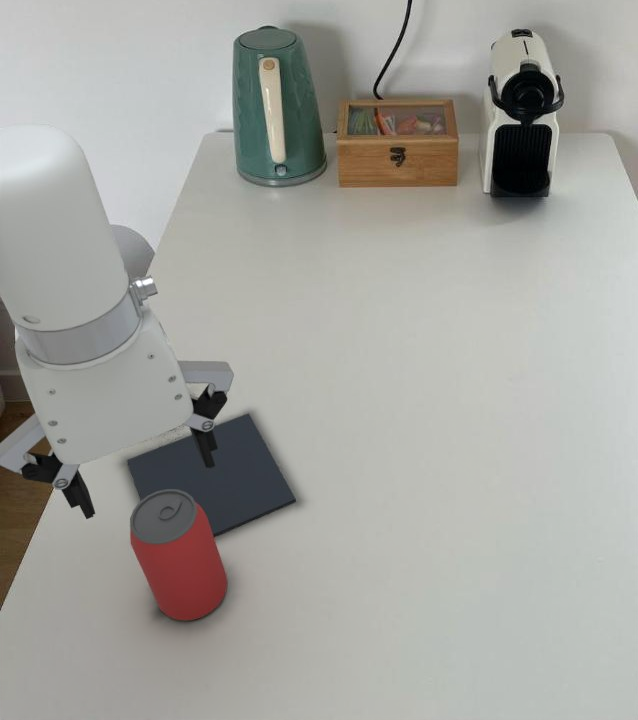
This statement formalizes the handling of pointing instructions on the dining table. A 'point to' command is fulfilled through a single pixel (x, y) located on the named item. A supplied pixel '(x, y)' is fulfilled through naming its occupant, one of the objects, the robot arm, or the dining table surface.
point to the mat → (218, 475)
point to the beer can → (178, 554)
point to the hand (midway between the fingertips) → (148, 480)
